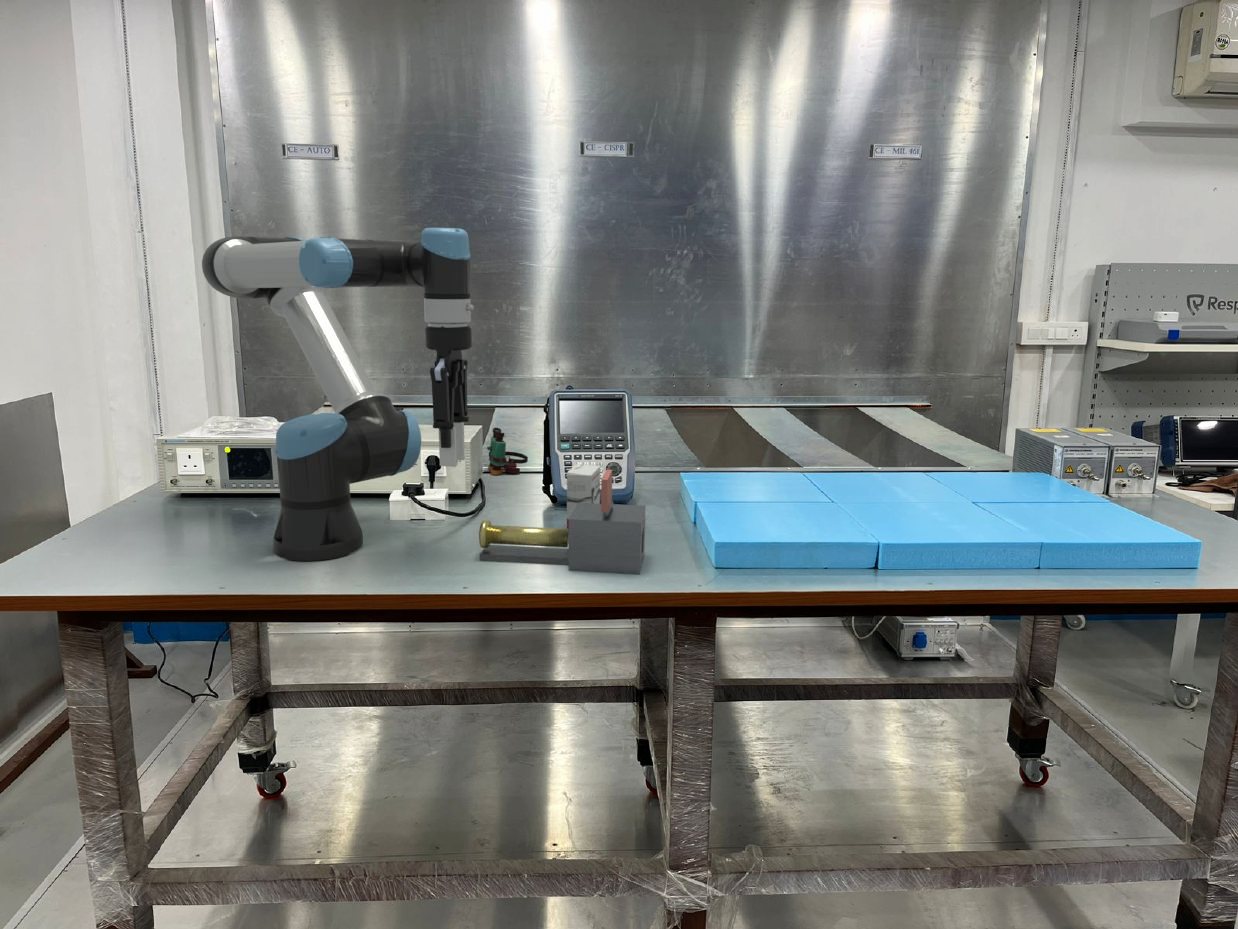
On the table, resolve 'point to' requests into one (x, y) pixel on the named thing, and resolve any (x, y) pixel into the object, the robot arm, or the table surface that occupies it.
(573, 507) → the ink box
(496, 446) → the green pump
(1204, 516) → the table surface
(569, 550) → the block
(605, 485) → the salmon pink slab
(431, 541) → the table surface
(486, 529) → the lynch pin
